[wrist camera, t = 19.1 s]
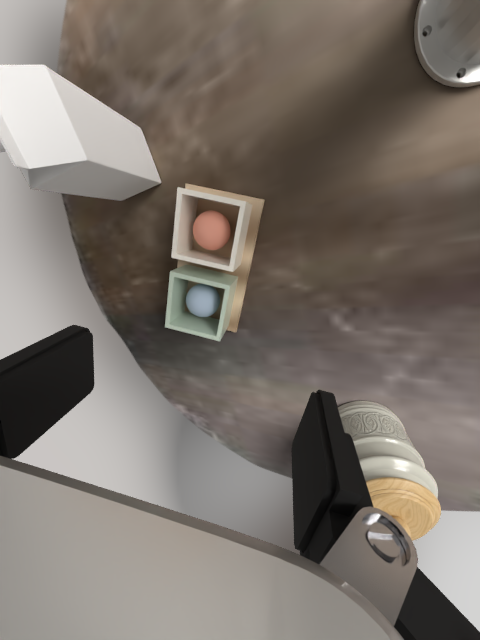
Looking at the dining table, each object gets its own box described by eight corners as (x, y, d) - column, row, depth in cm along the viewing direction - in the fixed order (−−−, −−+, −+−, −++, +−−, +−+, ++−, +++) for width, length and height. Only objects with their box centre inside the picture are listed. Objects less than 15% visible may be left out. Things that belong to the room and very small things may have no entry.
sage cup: (186, 264, 39) (169, 271, 33) (238, 276, 38) (230, 285, 33) (180, 313, 42) (164, 327, 36) (228, 325, 41) (219, 341, 36)
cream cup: (194, 192, 35) (177, 187, 29) (252, 204, 34) (246, 201, 29) (187, 252, 38) (171, 257, 33) (240, 264, 38) (232, 272, 32)
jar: (353, 385, 43) (395, 485, 27) (418, 423, 43) (497, 543, 27) (308, 433, 48) (320, 541, 32) (366, 466, 48) (407, 589, 32)
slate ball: (195, 276, 39) (182, 284, 35) (226, 284, 39) (217, 293, 34) (191, 306, 41) (178, 317, 37) (220, 314, 41) (211, 326, 36)
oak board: (188, 184, 36) (185, 183, 35) (264, 200, 35) (264, 199, 34) (175, 313, 44) (172, 316, 42) (237, 329, 43) (235, 332, 42)
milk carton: (141, 127, 34) (-8, 29, 17) (162, 183, 36) (49, 147, 19) (99, 149, 36) (-74, 81, 19) (122, 201, 38) (-16, 184, 21)
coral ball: (204, 207, 36) (188, 206, 31) (238, 215, 35) (226, 214, 30) (200, 243, 38) (184, 247, 33) (231, 251, 37) (220, 256, 32)
